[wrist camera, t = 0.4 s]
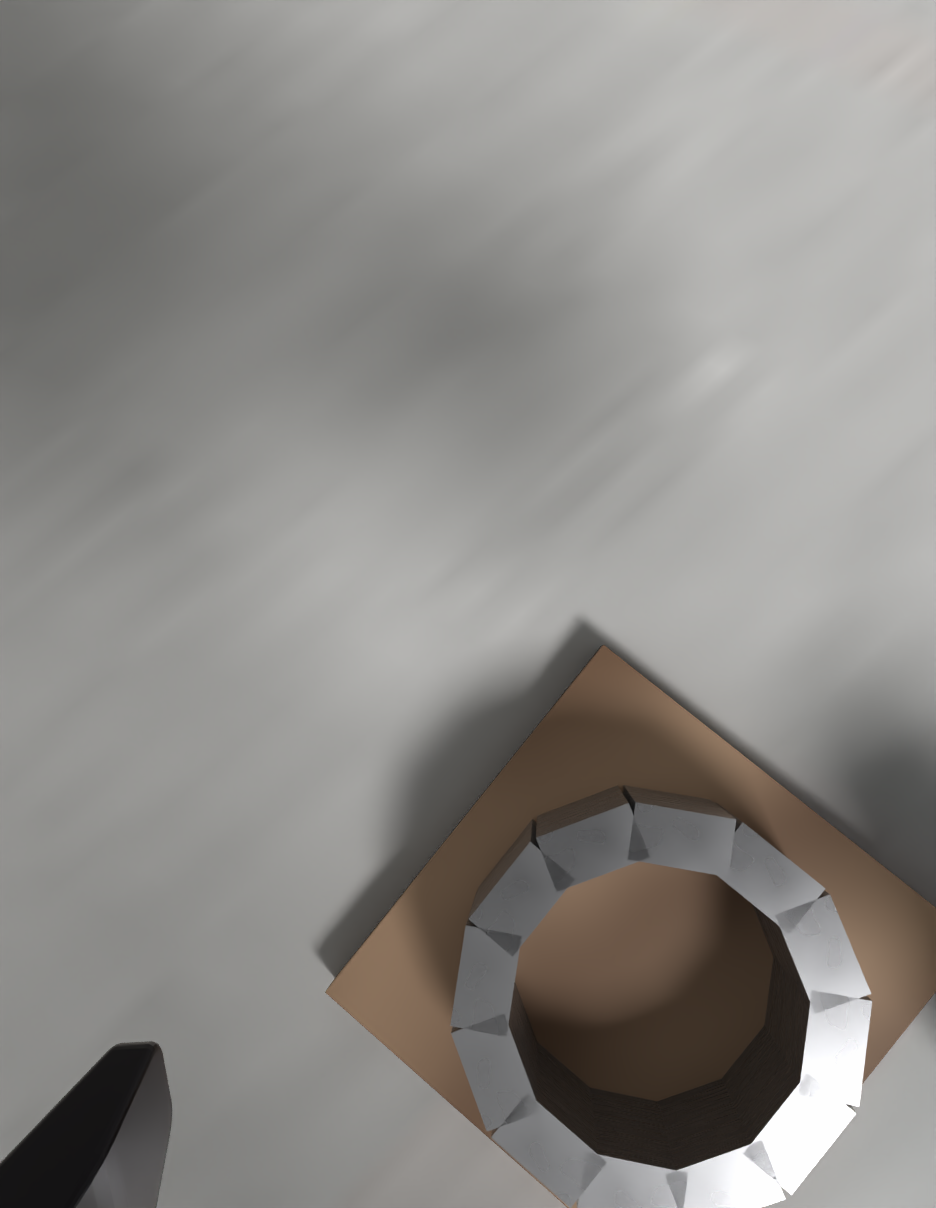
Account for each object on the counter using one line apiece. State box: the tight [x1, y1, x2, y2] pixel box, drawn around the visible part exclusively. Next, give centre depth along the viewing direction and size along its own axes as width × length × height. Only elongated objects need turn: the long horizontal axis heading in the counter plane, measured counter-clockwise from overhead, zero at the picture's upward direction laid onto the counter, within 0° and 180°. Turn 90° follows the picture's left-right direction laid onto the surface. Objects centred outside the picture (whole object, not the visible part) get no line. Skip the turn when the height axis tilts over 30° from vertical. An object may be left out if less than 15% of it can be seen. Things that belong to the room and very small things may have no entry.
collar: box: [450, 785, 872, 1208], centre depth 20 cm, size 8×8×3 cm
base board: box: [325, 645, 936, 1208], centre depth 22 cm, size 11×11×1 cm
